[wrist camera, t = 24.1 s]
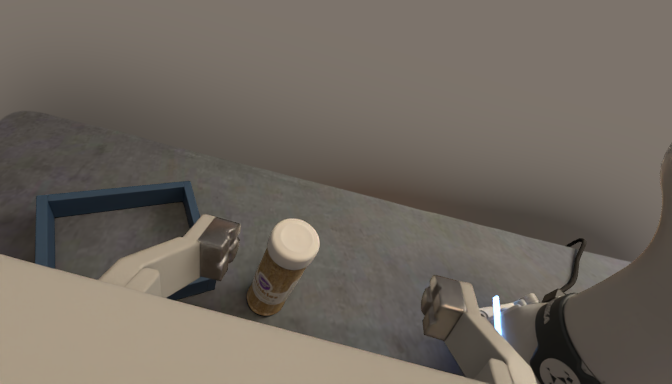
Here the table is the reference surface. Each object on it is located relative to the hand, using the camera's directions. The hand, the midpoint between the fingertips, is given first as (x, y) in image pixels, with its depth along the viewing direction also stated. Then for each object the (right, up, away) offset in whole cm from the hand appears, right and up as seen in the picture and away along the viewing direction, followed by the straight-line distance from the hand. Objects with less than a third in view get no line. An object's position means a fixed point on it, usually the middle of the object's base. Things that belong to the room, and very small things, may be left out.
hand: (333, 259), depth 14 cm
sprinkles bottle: (-8, -10, +25) cm, 28 cm away
